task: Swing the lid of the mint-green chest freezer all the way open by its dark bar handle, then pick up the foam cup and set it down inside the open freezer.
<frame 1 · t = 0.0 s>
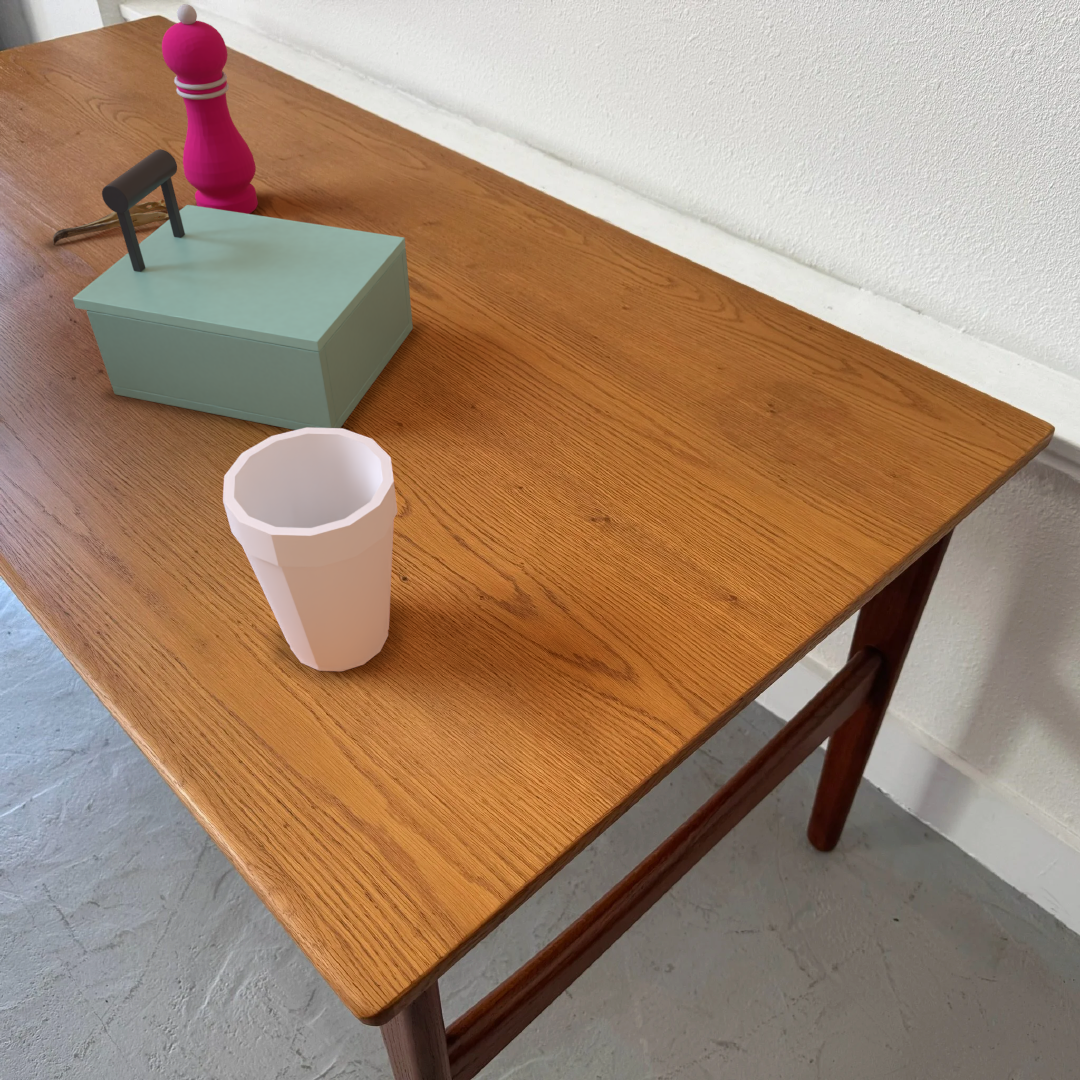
foam cup: (339, 635, 66), on the table
pepper mill: (228, 209, 110), on the table
freezer: (270, 360, 89), on the table
tongs: (120, 232, 106), on the table
freezer lid: (238, 229, 81), point 12 cm above the table, hinge at 0.0°
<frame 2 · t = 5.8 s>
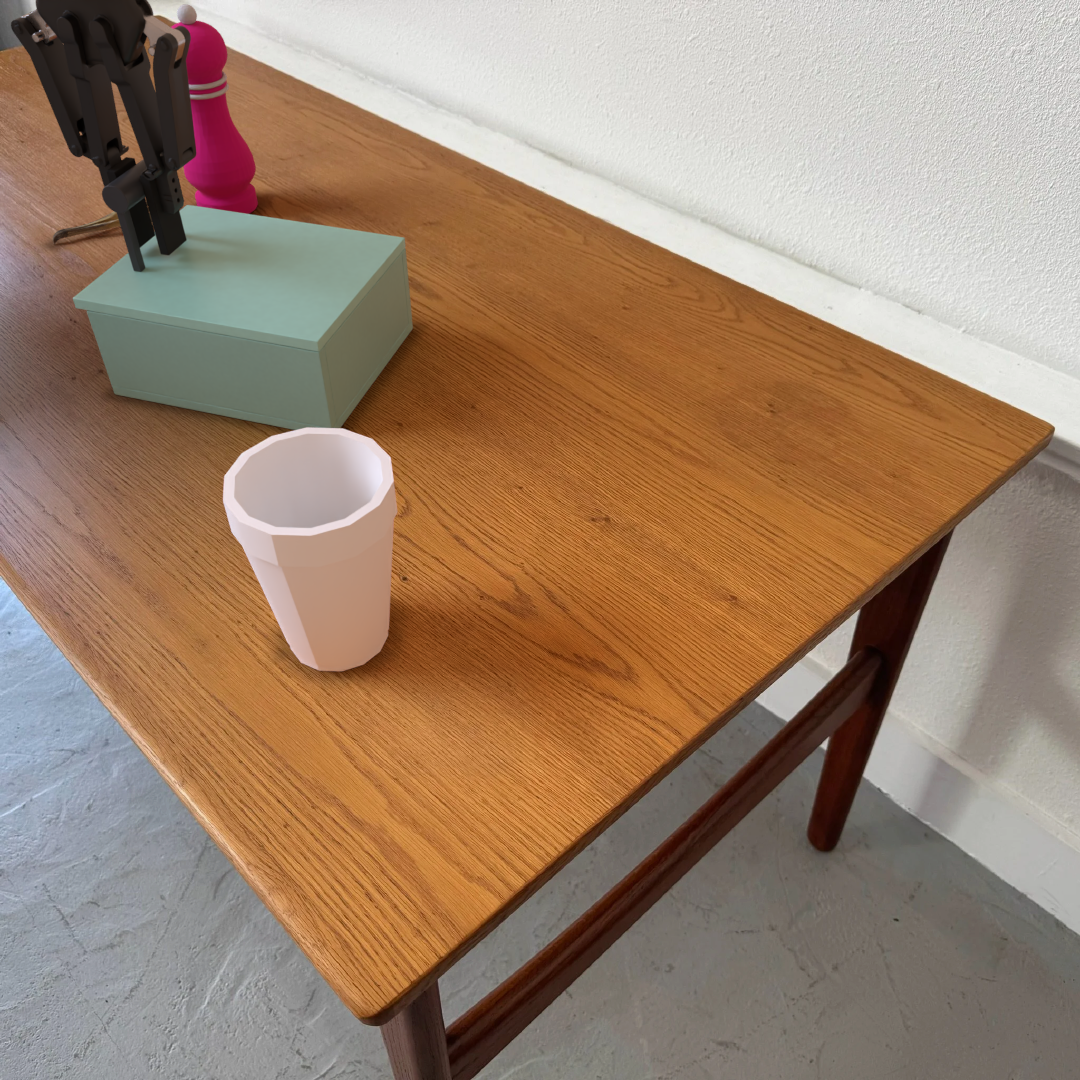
hand: (157, 244, 84), 10 cm above the table, tool pointing down, fingers closed on freezer lid, 2 cm apart
freezer lid: (238, 229, 81), point 12 cm above the table, hinge at 0.0°, touching gripper
everything else where it was.
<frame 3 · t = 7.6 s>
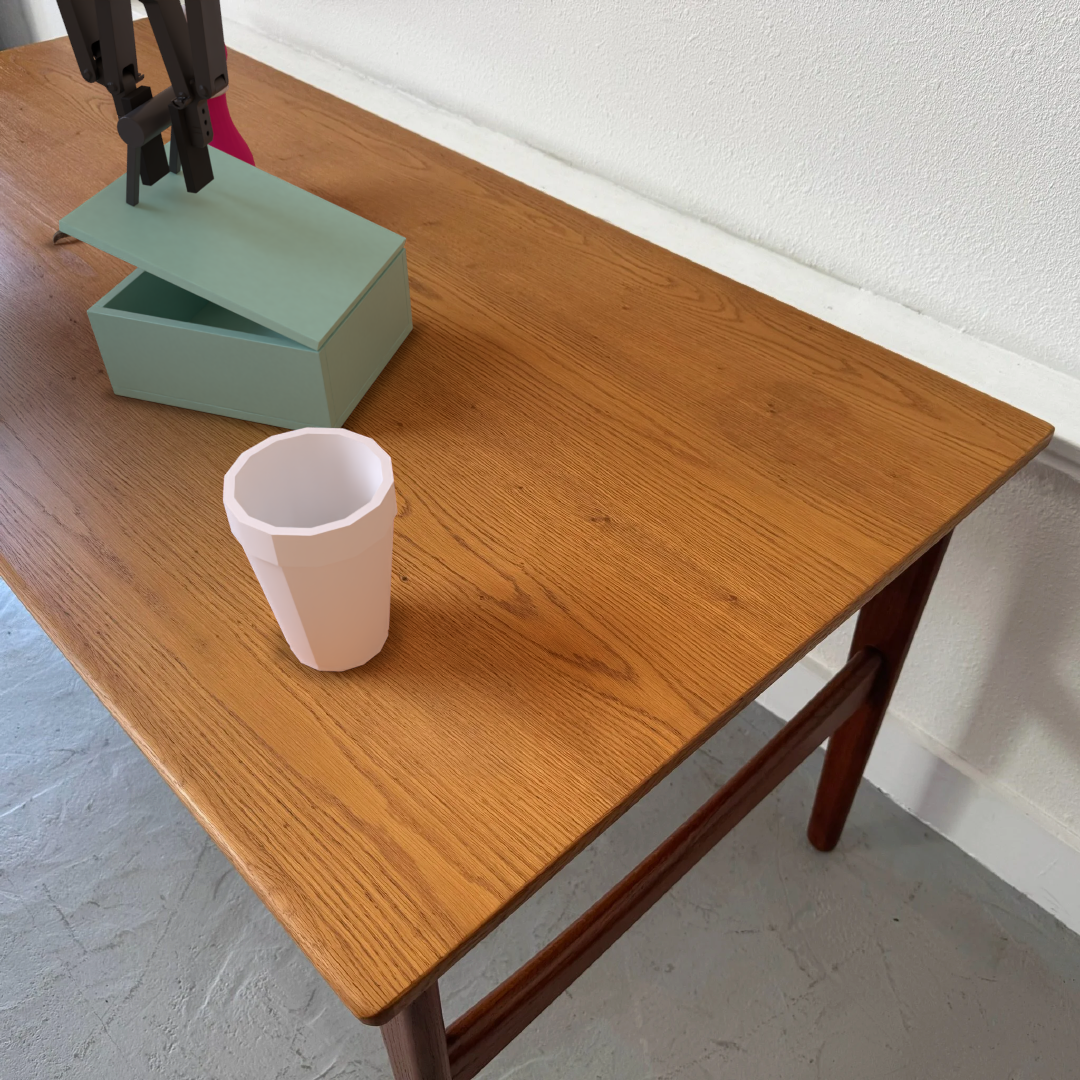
hand: (178, 181, 79), 15 cm above the table, tool pointing down, fingers open, 3 cm apart
freezer lid: (250, 194, 78), point 15 cm above the table, hinge at 18.5°, touching gripper
everything else where it was.
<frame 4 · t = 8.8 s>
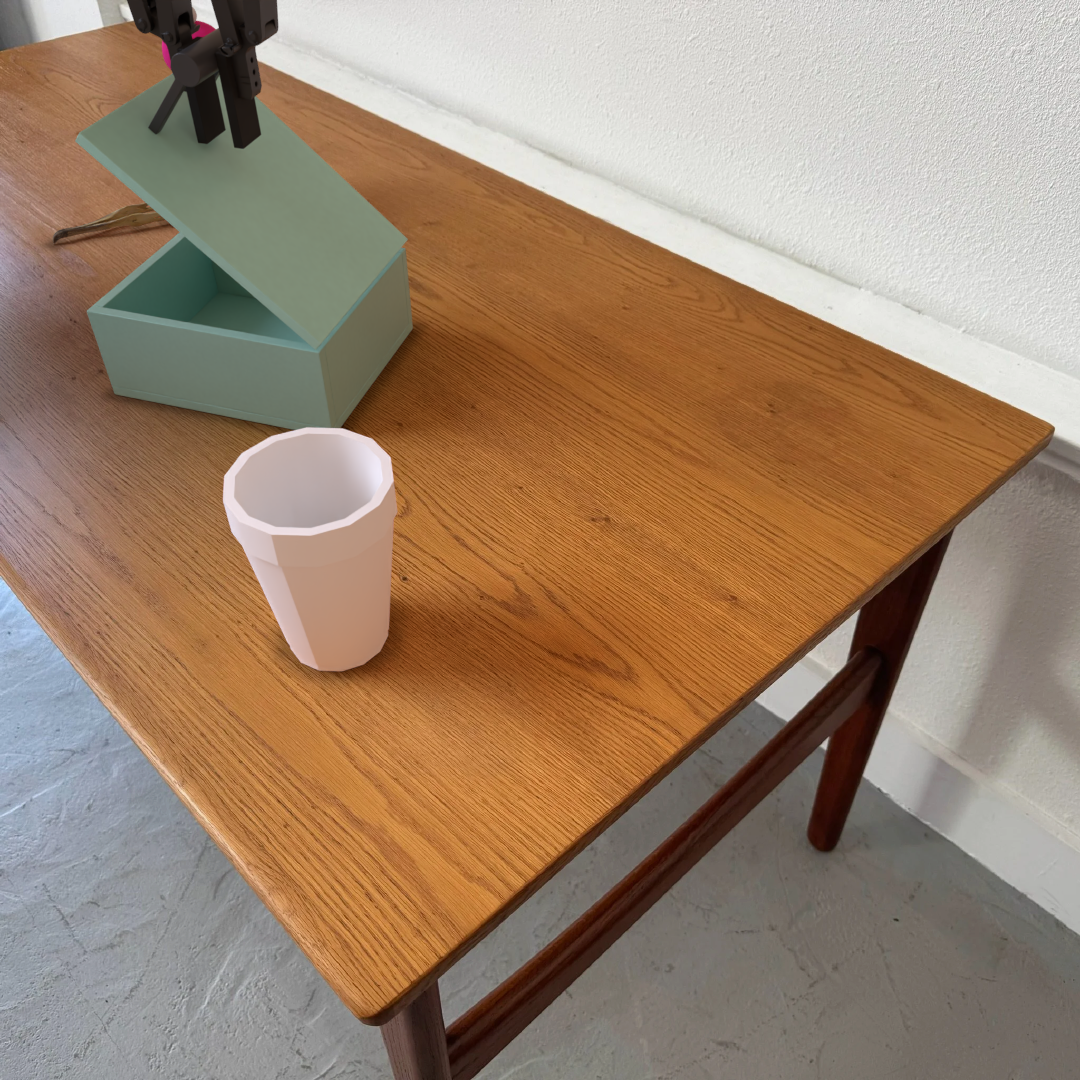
hand: (229, 138, 76), 19 cm above the table, tool pointing down, fingers closed on freezer lid, 2 cm apart
freezer lid: (281, 164, 76), point 18 cm above the table, hinge at 40.8°, touching gripper
everything else where it was.
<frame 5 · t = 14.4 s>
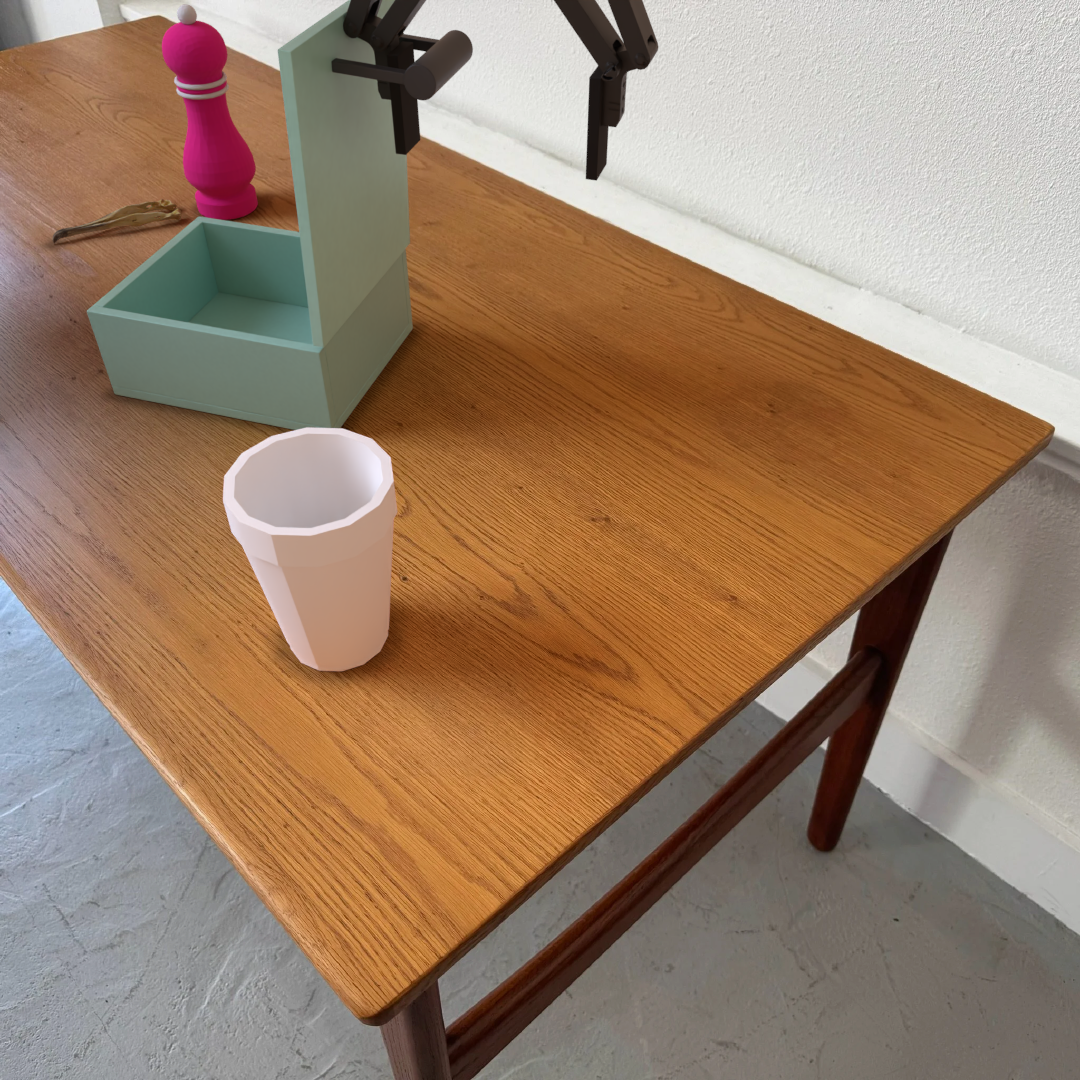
hand: (500, 159, 70), 20 cm above the table, tool pointing down, fingers open, 13 cm apart
freezer lid: (402, 172, 73), point 19 cm above the table, hinge at 92.8°, touching gripper, hand
everything else where it was.
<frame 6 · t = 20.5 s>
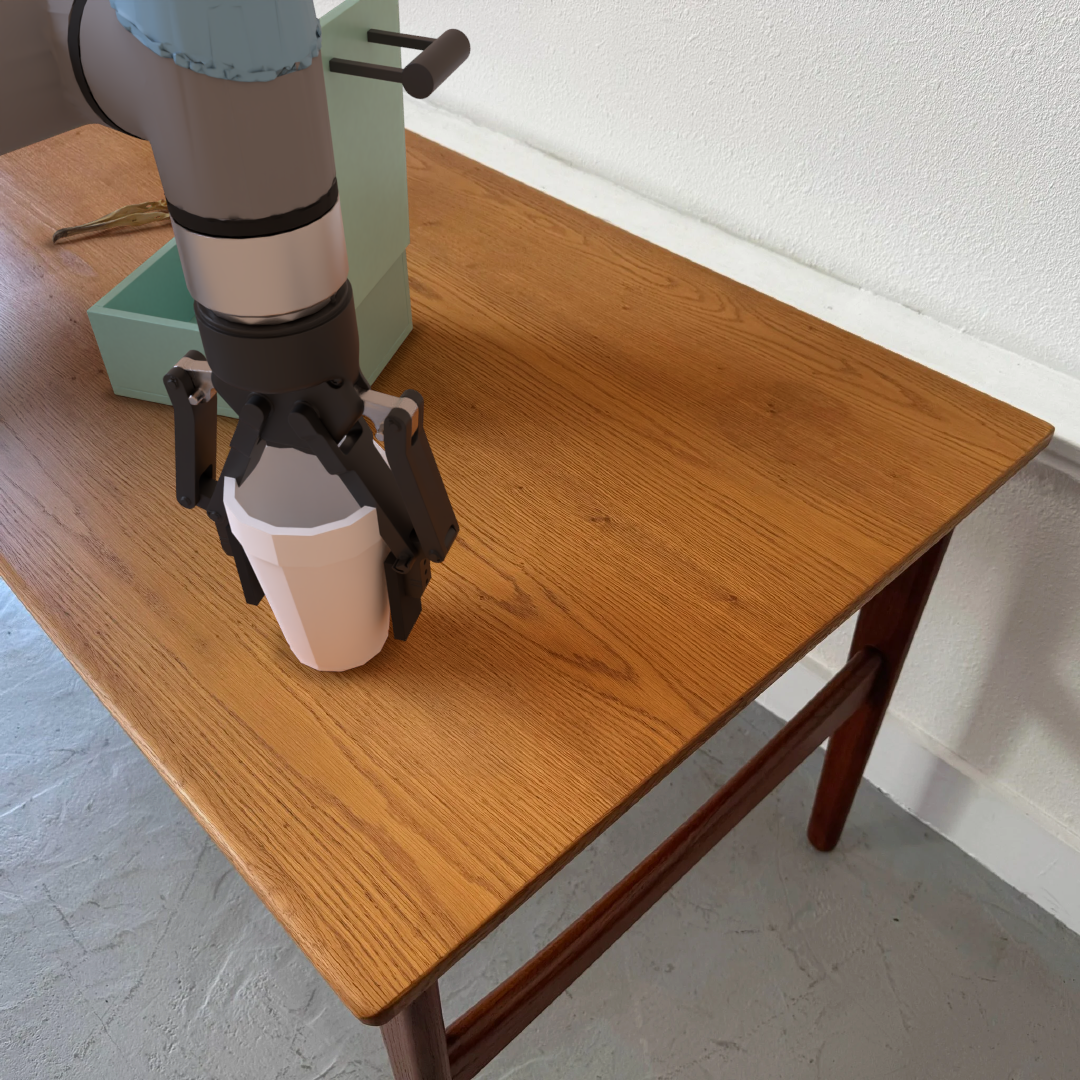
hand: (334, 606, 64), 3 cm above the table, tool pointing down, fingers closed on foam cup, 9 cm apart
foam cup: (339, 635, 66), on the table, touching gripper
freezer lid: (401, 171, 73), point 19 cm above the table, hinge at 92.3°
everything else where it was.
when the fingers open (3 cm above the table, at t = 31.9 s): foam cup stays where it is, resting on freezer.
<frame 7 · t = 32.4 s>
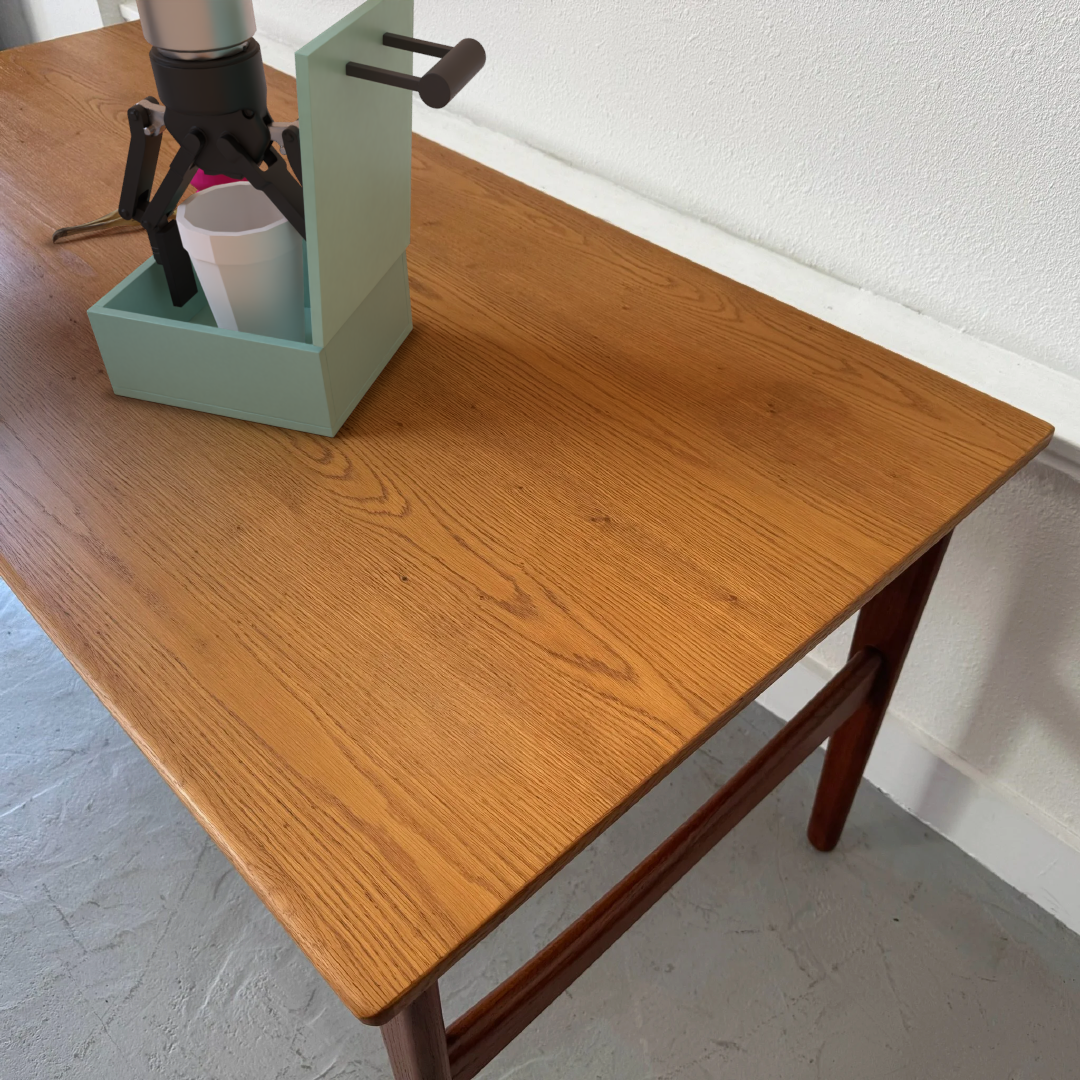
hand: (257, 312, 86), 5 cm above the table, tool pointing down, fingers open, 13 cm apart
foam cup: (269, 353, 88), point 1 cm above the table, touching freezer
freezer lid: (409, 176, 73), point 18 cm above the table, hinge at 95.9°, touching gripper
everything else where it was.
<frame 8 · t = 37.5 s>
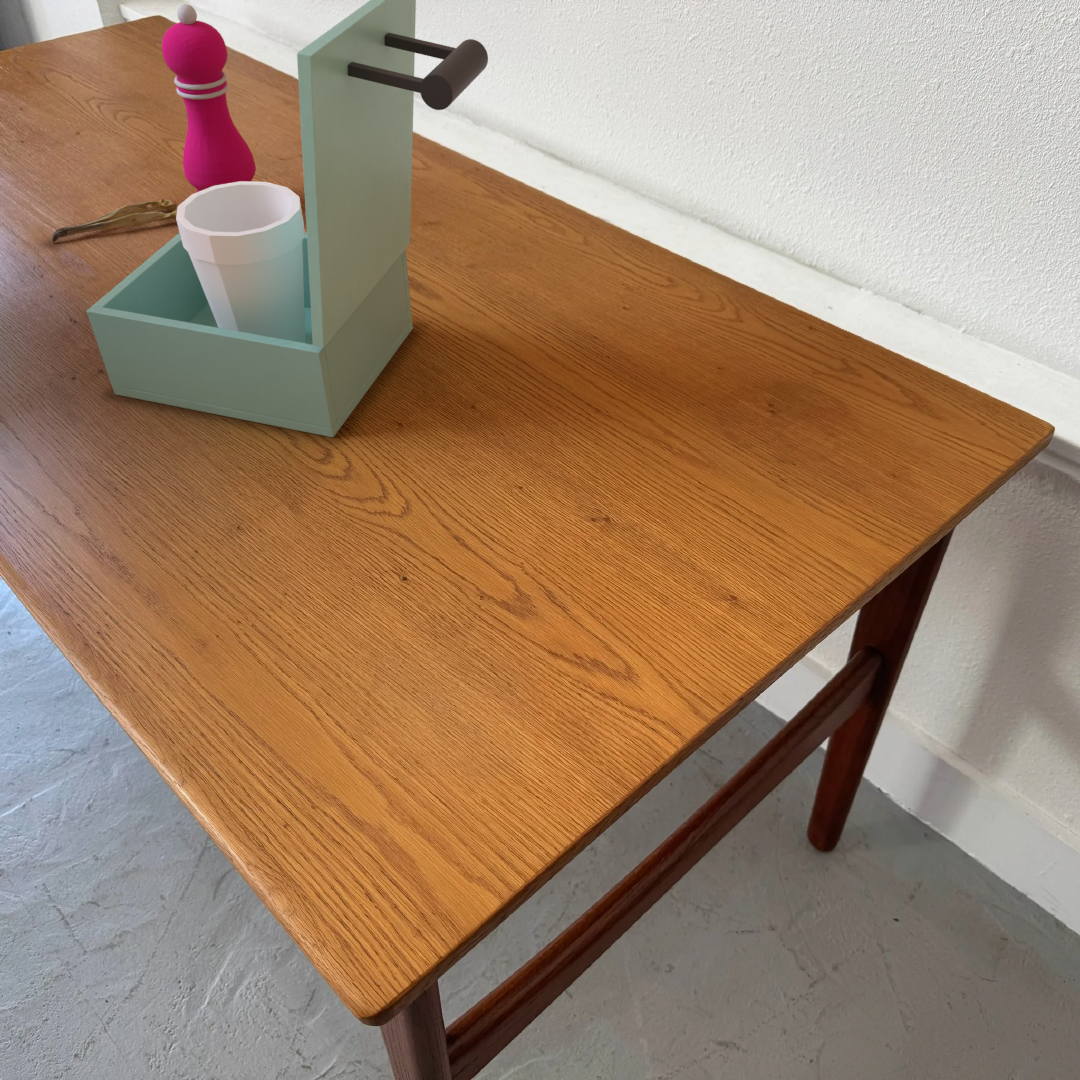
freezer lid: (410, 176, 73), point 18 cm above the table, hinge at 96.3°
everything else where it was.
at the end: freezer lid at +96° (first picture: +0°); foam cup inside the target area in the freezer (0.0 cm from its centre), point 0.7 cm above the freezer's base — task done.
